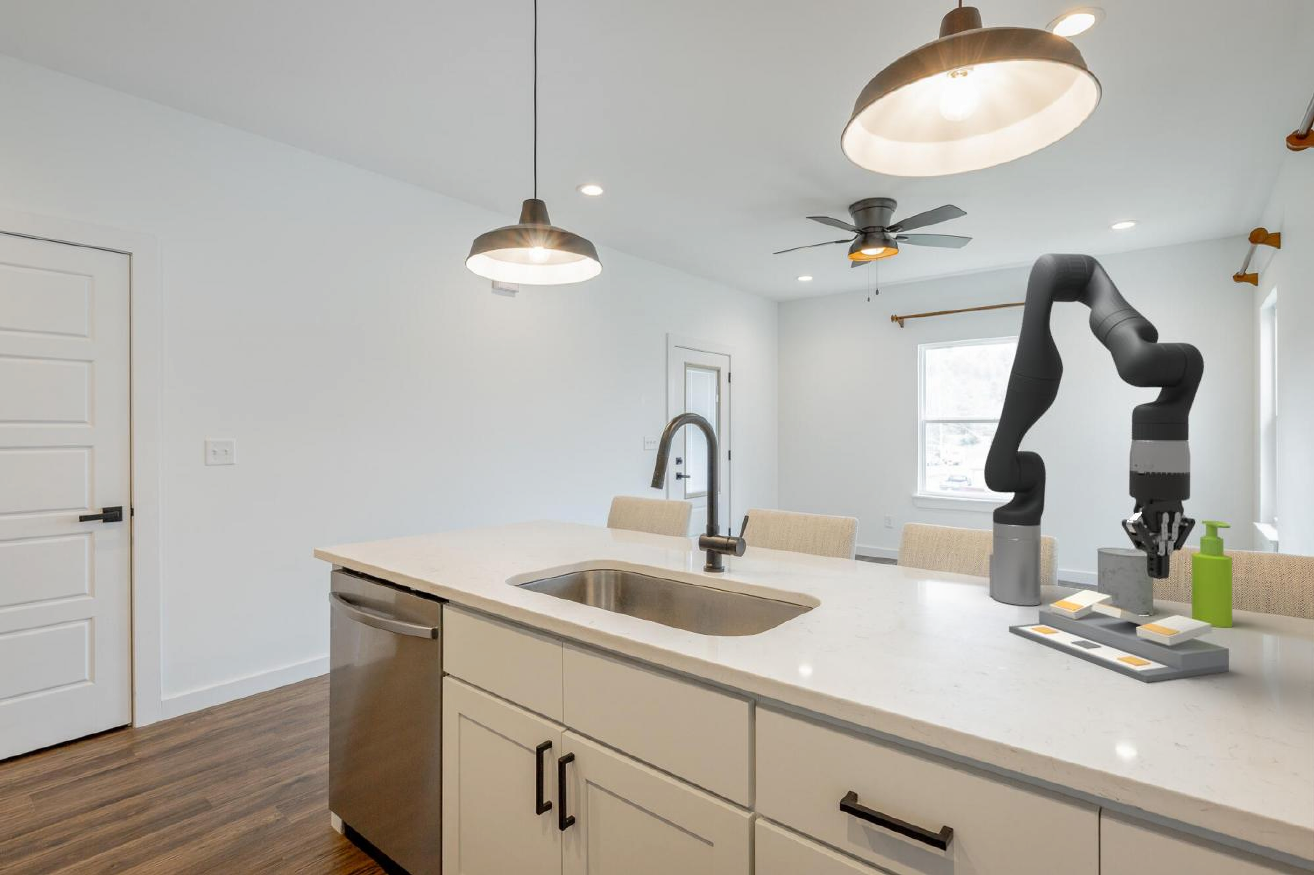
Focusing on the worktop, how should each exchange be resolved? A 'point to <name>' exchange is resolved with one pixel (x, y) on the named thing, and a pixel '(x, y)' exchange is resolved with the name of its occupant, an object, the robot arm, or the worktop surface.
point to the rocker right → (1173, 630)
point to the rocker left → (1079, 604)
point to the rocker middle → (1121, 614)
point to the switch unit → (1124, 647)
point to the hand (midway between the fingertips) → (1158, 577)
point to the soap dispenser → (1212, 579)
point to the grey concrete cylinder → (1126, 579)
